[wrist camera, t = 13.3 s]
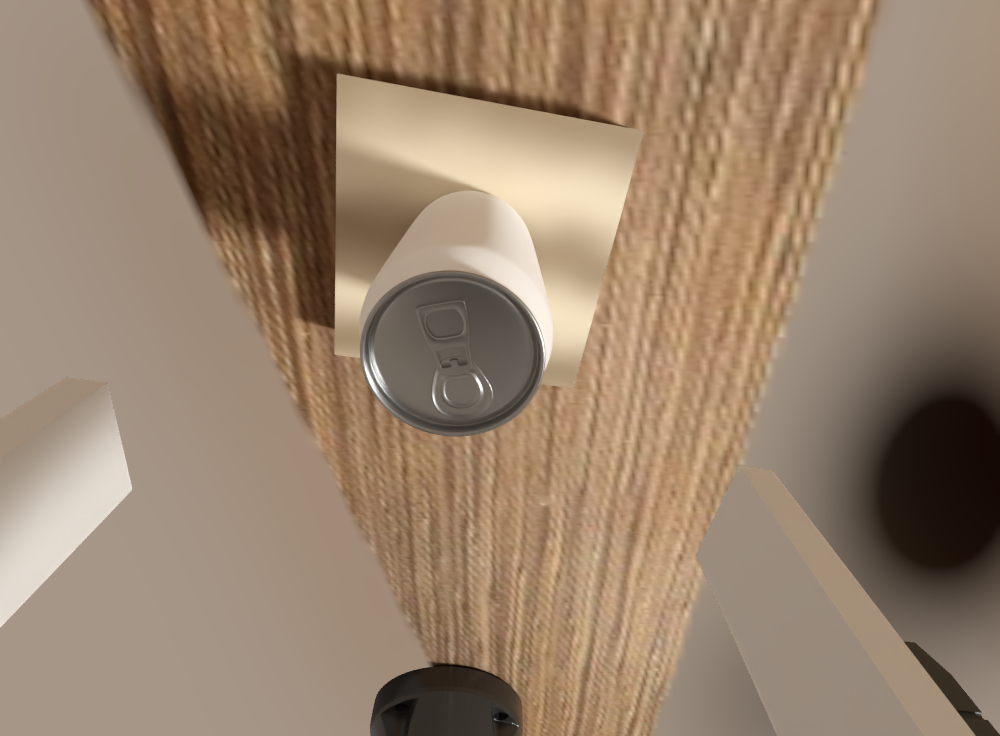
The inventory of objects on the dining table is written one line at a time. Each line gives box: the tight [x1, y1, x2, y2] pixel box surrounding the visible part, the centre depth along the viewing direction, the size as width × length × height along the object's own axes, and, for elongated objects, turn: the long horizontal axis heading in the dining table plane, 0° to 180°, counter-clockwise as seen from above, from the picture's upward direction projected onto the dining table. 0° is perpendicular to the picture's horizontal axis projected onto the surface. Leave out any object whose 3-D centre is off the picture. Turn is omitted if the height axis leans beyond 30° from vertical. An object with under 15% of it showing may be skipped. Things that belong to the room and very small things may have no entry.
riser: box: [335, 73, 644, 388], centre depth 27 cm, size 14×14×3 cm
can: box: [359, 191, 553, 436], centre depth 20 cm, size 6×6×12 cm
